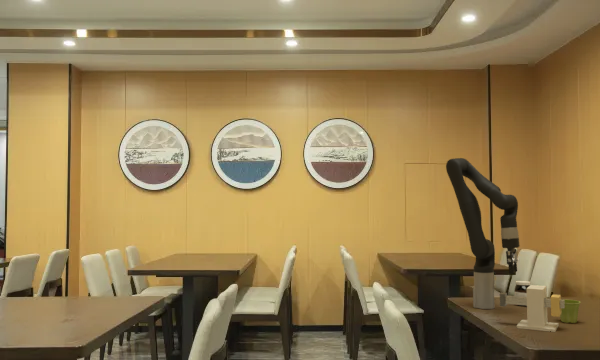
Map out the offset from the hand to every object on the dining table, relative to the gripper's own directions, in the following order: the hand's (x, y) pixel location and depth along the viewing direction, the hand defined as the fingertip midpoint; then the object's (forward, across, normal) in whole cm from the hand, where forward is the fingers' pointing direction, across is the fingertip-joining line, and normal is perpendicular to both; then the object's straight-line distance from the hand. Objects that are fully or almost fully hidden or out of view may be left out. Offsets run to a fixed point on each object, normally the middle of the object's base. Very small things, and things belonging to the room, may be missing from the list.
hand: (513, 272), depth 245 cm
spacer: (+10, +25, +19) cm, 33 cm away
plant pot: (+20, +8, +22) cm, 31 cm away
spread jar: (+19, -24, +1) cm, 30 cm away
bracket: (+19, +25, +12) cm, 34 cm away
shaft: (+12, +25, +10) cm, 30 cm away
